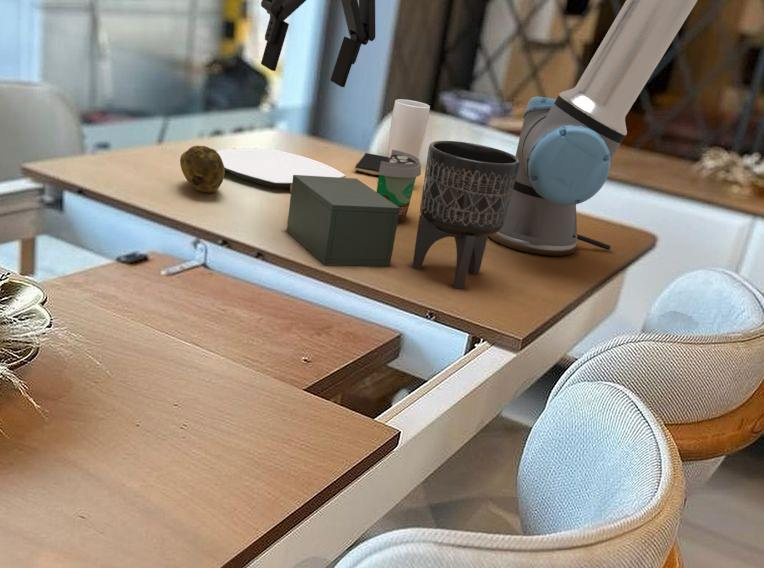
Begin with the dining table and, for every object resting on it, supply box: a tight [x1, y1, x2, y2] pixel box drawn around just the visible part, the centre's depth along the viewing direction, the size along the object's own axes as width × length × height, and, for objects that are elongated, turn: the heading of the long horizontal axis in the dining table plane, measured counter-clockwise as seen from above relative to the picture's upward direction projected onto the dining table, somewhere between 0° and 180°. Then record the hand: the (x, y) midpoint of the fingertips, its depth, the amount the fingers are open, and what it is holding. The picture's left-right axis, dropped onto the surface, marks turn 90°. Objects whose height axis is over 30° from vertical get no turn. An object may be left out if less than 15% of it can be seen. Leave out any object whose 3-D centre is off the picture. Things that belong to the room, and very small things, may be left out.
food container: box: [376, 149, 422, 224], centre depth 170 cm, size 12×6×10 cm, turn 168°
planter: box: [412, 140, 520, 290], centre depth 145 cm, size 13×13×18 cm
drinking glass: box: [387, 98, 431, 160], centre depth 192 cm, size 7×7×15 cm
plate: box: [216, 148, 347, 189], centre depth 186 cm, size 23×23×2 cm
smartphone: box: [354, 152, 388, 176], centre depth 204 cm, size 7×1×15 cm
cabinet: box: [286, 175, 400, 267], centre depth 151 cm, size 16×11×9 cm
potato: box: [179, 145, 226, 193], centre depth 166 cm, size 8×13×8 cm, turn 174°
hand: (303, 76), depth 150 cm, fingers open, 13 cm apart
